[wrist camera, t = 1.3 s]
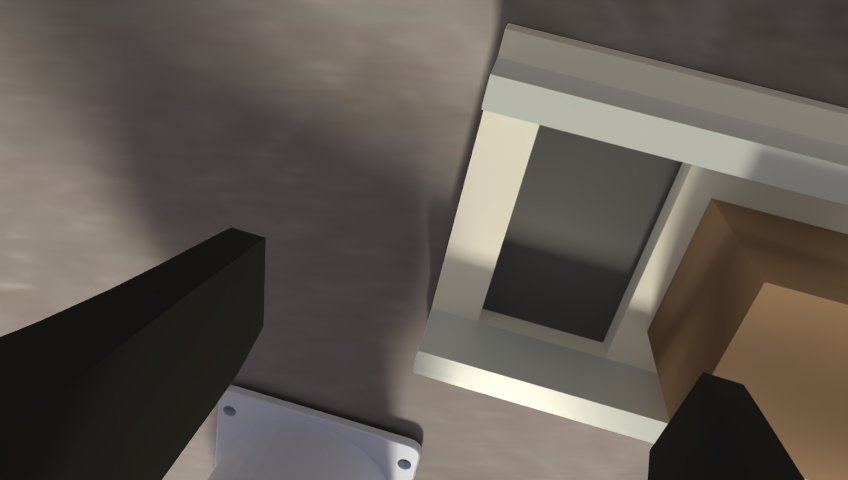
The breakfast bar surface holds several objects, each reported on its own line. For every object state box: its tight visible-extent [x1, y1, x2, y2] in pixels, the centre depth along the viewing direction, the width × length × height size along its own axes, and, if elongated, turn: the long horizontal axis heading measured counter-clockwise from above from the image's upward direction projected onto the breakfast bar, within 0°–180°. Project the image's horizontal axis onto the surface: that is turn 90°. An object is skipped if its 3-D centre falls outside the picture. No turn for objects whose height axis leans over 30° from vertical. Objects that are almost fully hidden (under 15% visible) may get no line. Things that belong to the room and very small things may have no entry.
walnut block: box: [647, 198, 848, 480], centre depth 15 cm, size 4×4×4 cm
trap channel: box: [412, 23, 848, 480], centre depth 16 cm, size 10×19×3 cm, turn 78°
